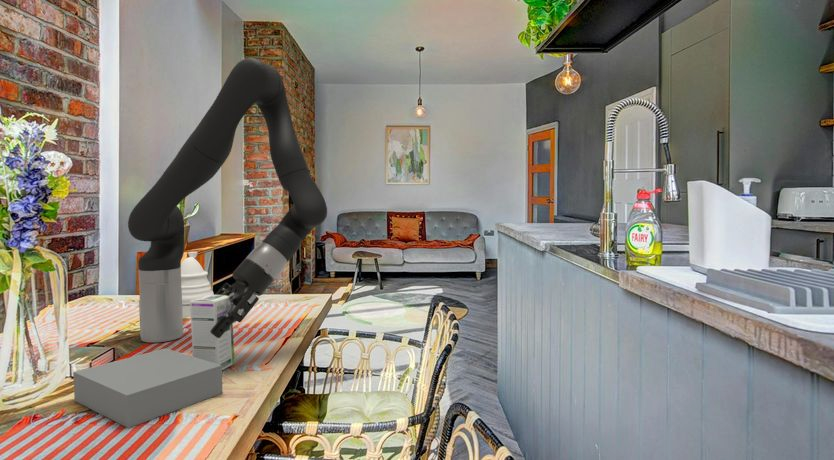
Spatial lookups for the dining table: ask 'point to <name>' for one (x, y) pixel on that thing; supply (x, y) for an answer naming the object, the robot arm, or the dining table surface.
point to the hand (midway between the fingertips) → (206, 330)
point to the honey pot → (193, 282)
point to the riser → (147, 385)
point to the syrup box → (202, 322)
